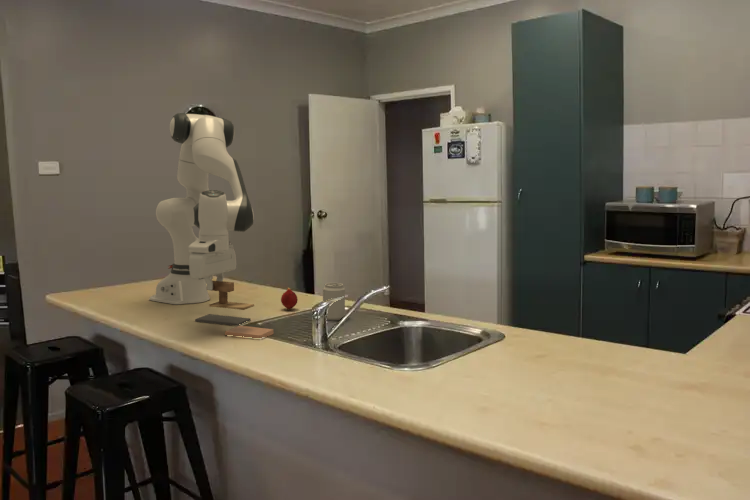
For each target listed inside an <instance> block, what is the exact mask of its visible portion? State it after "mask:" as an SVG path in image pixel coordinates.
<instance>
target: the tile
mask: <svg viewBox="0 0 750 500" xmlns="http://www.w3.org/2000/svg"><path fill="white" fill-rule="evenodd" d="M225 335H233V336H242V337H243V336H244V337H252V338H262V337H266V338H268V337H270V336H272V335H274V328H267V327H266V328H265V327H257V326H256V327H255V326H245V325H239V326H234V327H233V328H230V329H227V330H225V331H224V336H225ZM267 336H268V337H267Z"/></svg>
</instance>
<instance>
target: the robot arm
mask: <svg viewBox="0 0 750 500" xmlns="http://www.w3.org/2000/svg"><path fill="white" fill-rule="evenodd" d="M169 133H170V137H171V139H172V140H173V141H174V142H177V143H179V144H181V146H180V149H179V156H178V162H177V163H178V167H177V173H176V179H177V182H178V183H179V184H180V185H181V186H182V187H184V188H185V190H186V191H185V192H186V196H185V197H172V198H168V199H164V200H160V201H159V202H158V204H157V206H156V208H155V217H156V220H157V222H158V223H159V224H160V225H161V226H162V227H163V228H165V229H166V231H167V232H168V234H169V235H170V238H171V240H172V247H173V258H174V262H173V263H172V264H171V265H169V266H168V268H167V269H170V272H169V274H168V275H166V276H165V277H164V278H163V279H161V280H160V281H159V282H157V284H156V289H155V294H153V295H150V296H149V299H148V300H149V301H153V302H158V303H159V302H160V303H164V304H171V305H183V304H185V305H186V304H198V303H203V302H207V301H209V300H211V299H210V295H209V291H211V290H214V289H215V284H213V282H212V281H213V279H214V276H216V280H215V281H224V278H225V273H228V272H231V271H235V270H236V269H237V256H236V250H235V249H234V244H233V243H232V241H229V239H230V238H229V231H230V232H231V231H233V232H242V233H244V232H246V231H248V230H249V229H250V228H251V227H252V226H253V225H254V221H255V220H254V219H255V213H254V209H253V206H252V205H251V204H252V203H251V201H250V198H249V196H248V191H247V189H246V188H247V187H246V185H245V181H244V178H243V174H242V171H241V168H240V166H239V163H238V161H237V159H235V158H233V157H232V156H231V155H230V154H229V152H228V150H227V148H228V147H230V146H231V145H232V143H233V141H234V139H235V128H234V124H233V122H232V120H230V119H227V118H224V117H222V118H220V117H217V116H214V115H209V114H199V113H198V114H197V113H186V112H177V113H175V114H174V115H173V116H172V119H171V120H170V122H169ZM210 175H213V176H216V177H219V178H221V179H223V180H225V181H227V182H228V183H229V185H230V187H231V191H232V194H233V200H227V195H226V193H225V192H223V191H222V190H217V189H216V190H213V189H211V190H210V188H209V177H210ZM193 227H196V228H198V229H199V231H198V237H197V236H196V234H195V232H194V229H193Z"/></svg>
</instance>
